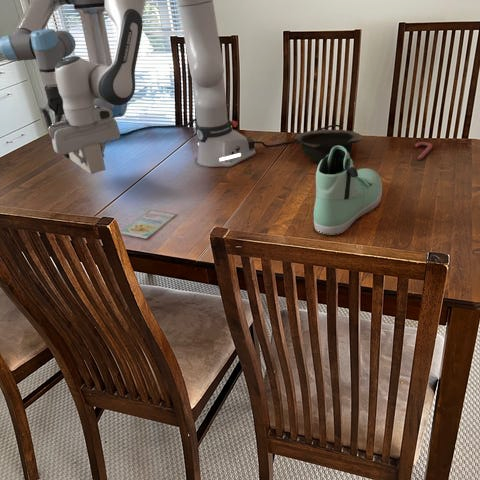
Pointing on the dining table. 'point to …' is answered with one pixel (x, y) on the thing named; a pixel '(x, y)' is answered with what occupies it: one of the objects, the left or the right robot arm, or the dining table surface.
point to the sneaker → (343, 192)
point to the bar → (90, 158)
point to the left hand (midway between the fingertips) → (75, 154)
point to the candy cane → (425, 149)
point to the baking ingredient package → (147, 224)
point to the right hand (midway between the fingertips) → (92, 159)
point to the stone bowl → (325, 142)
